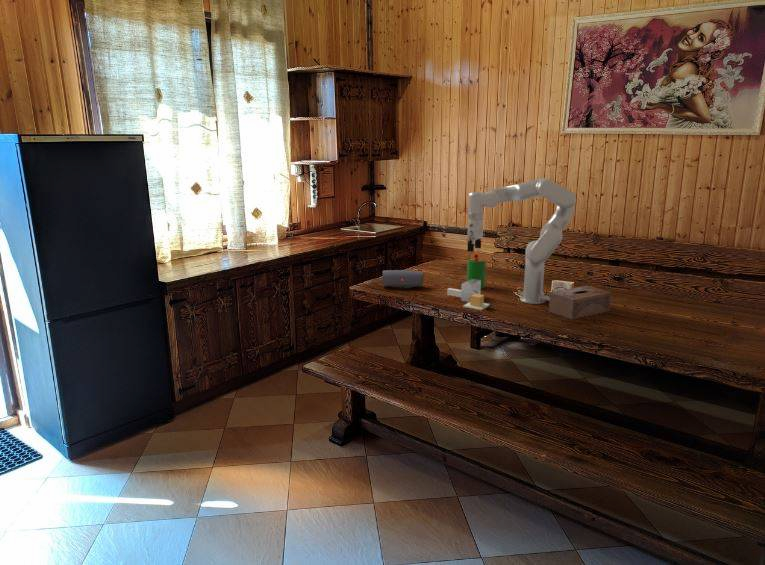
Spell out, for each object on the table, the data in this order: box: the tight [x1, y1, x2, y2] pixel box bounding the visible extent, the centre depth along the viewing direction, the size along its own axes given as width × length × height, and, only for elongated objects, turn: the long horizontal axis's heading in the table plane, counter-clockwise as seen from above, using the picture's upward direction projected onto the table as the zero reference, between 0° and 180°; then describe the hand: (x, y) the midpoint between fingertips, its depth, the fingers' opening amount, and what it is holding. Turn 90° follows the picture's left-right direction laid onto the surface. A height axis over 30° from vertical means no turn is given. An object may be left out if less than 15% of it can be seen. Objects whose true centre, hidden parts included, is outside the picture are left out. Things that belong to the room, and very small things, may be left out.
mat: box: [462, 302, 491, 311], centre depth 276 cm, size 10×10×1 cm
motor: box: [466, 252, 487, 290], centre depth 309 cm, size 10×9×20 cm
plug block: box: [470, 293, 485, 307], centre depth 275 cm, size 5×5×5 cm
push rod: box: [446, 287, 475, 298], centre depth 293 cm, size 15×2×4 cm, turn 56°
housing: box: [460, 279, 482, 303], centre depth 289 cm, size 5×13×9 cm, turn 145°
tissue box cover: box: [548, 285, 612, 320], centre depth 267 cm, size 26×14×10 cm, turn 118°
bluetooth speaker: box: [381, 269, 424, 289], centre depth 310 cm, size 23×9×10 cm, turn 83°
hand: (474, 249), depth 282 cm, fingers open, 9 cm apart
